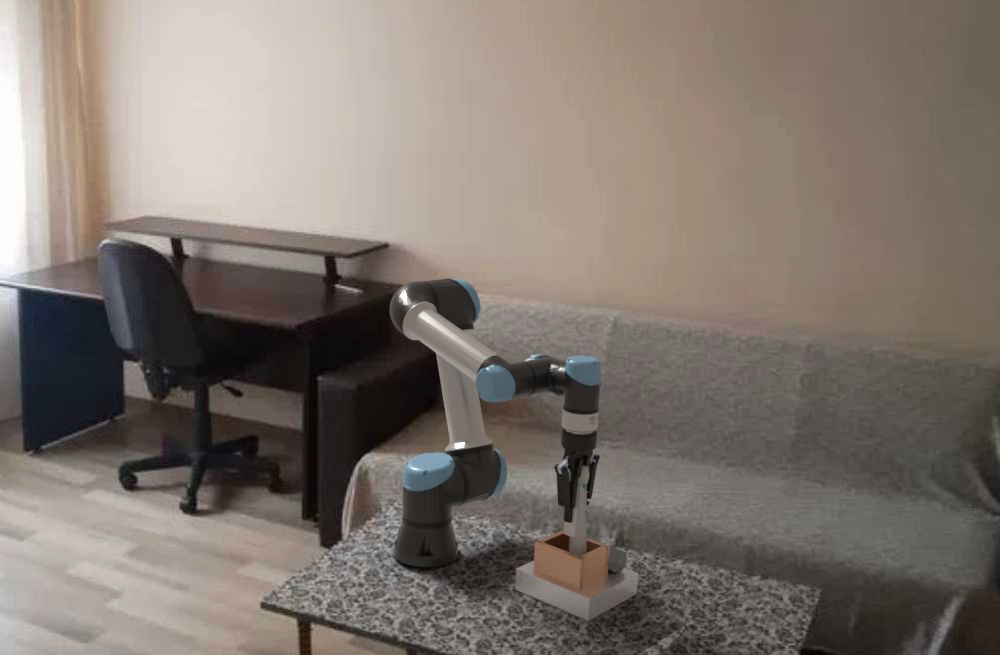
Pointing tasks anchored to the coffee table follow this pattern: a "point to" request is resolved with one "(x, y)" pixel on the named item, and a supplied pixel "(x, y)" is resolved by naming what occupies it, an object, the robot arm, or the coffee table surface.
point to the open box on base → (577, 577)
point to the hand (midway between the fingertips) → (572, 533)
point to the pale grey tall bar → (580, 515)
